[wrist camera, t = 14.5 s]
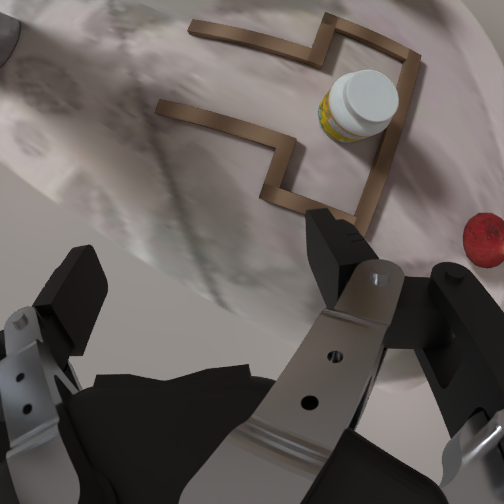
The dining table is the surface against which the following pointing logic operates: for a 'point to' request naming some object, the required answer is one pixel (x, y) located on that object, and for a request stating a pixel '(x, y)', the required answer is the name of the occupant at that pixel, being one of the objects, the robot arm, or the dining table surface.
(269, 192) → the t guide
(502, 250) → the onion
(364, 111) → the supplement bottle
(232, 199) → the dining table surface
